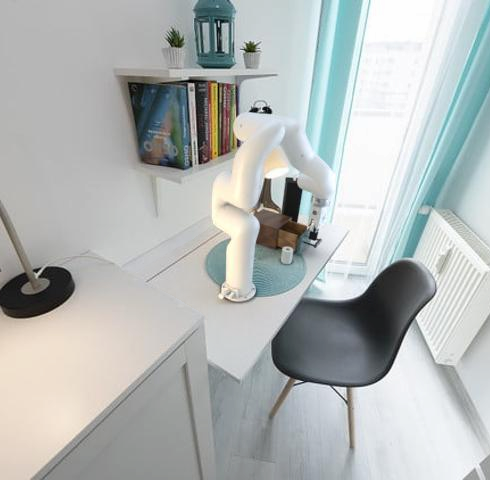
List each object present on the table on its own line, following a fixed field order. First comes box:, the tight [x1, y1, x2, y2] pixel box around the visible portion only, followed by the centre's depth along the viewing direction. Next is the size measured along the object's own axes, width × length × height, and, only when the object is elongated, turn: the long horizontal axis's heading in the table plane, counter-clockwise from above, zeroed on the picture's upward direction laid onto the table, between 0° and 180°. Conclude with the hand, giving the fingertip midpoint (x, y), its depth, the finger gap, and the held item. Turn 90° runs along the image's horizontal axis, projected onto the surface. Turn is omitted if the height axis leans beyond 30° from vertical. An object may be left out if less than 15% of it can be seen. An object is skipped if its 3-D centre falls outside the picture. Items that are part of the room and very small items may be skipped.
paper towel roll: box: [280, 247, 294, 265], centre depth 123 cm, size 5×5×6 cm
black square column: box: [280, 172, 304, 223], centre depth 147 cm, size 8×8×28 cm
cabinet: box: [253, 208, 292, 250], centre depth 138 cm, size 16×15×11 cm
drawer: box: [276, 221, 323, 256], centre depth 131 cm, size 20×14×9 cm, turn 57°
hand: (312, 239), depth 127 cm, fingers closed
